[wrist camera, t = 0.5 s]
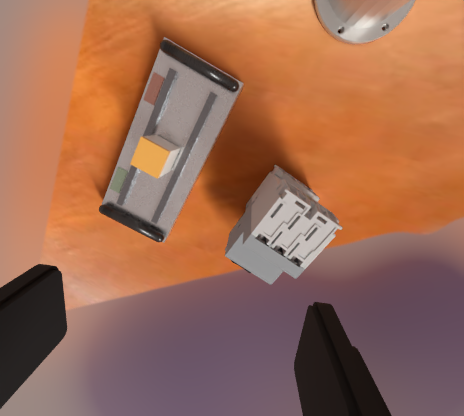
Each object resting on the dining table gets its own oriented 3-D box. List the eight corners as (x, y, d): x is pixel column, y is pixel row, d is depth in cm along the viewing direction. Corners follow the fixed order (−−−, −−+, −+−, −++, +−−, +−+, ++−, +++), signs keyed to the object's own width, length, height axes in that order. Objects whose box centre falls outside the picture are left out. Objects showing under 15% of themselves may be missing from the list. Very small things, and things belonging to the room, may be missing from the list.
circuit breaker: (226, 231, 44) (213, 281, 30) (275, 164, 40) (287, 187, 26) (260, 253, 45) (264, 313, 31) (312, 190, 41) (344, 226, 27)
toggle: (156, 134, 37) (140, 136, 32) (180, 148, 37) (169, 151, 32) (146, 158, 38) (130, 164, 33) (170, 171, 39) (157, 178, 34)
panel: (170, 42, 36) (160, 32, 32) (244, 86, 37) (242, 81, 33) (107, 205, 44) (94, 213, 41) (168, 236, 46) (160, 247, 42)
